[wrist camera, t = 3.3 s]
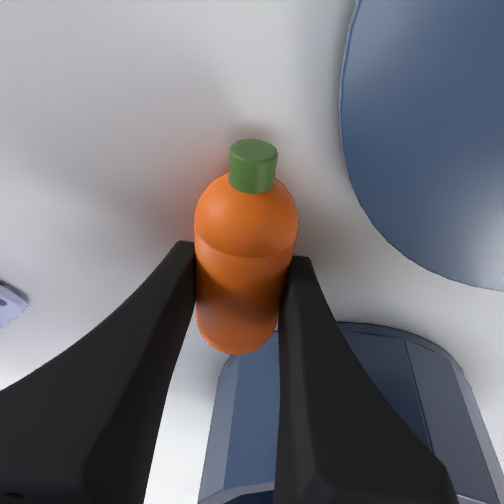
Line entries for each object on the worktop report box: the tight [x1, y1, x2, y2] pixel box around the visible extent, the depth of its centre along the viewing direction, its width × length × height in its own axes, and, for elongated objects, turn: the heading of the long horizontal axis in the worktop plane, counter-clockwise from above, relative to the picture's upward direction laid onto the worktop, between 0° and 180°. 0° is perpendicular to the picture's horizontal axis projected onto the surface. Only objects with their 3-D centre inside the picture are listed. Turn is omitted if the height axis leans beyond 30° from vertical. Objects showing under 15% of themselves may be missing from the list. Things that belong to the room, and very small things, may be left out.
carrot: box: [194, 139, 299, 355], centre depth 12 cm, size 8×3×3 cm, turn 175°
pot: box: [197, 323, 504, 504], centre depth 18 cm, size 13×13×6 cm
